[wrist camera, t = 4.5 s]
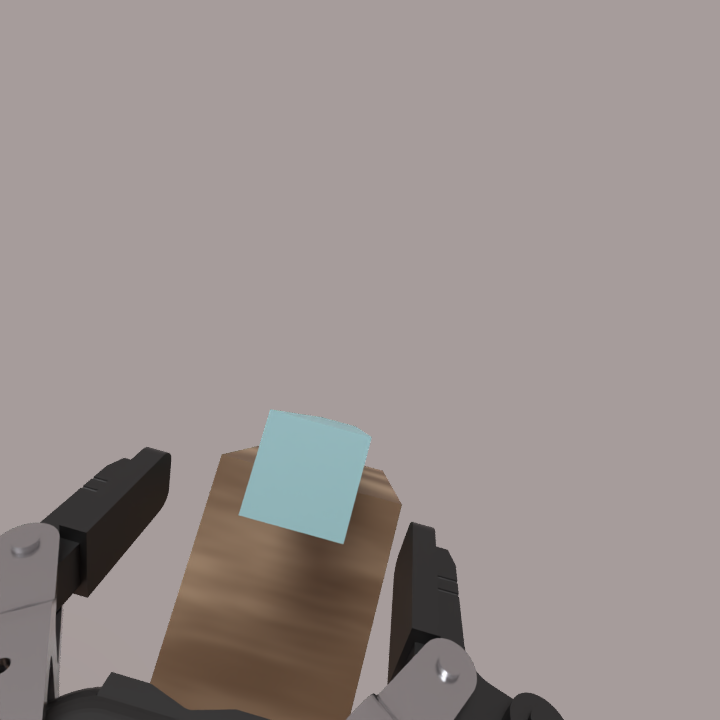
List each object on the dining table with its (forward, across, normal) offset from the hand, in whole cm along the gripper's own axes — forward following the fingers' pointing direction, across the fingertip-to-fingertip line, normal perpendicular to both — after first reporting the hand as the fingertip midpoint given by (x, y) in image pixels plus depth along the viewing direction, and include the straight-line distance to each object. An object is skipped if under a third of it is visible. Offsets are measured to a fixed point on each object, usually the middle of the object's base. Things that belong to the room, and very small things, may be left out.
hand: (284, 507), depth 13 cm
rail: (+10, 0, +6) cm, 12 cm away
